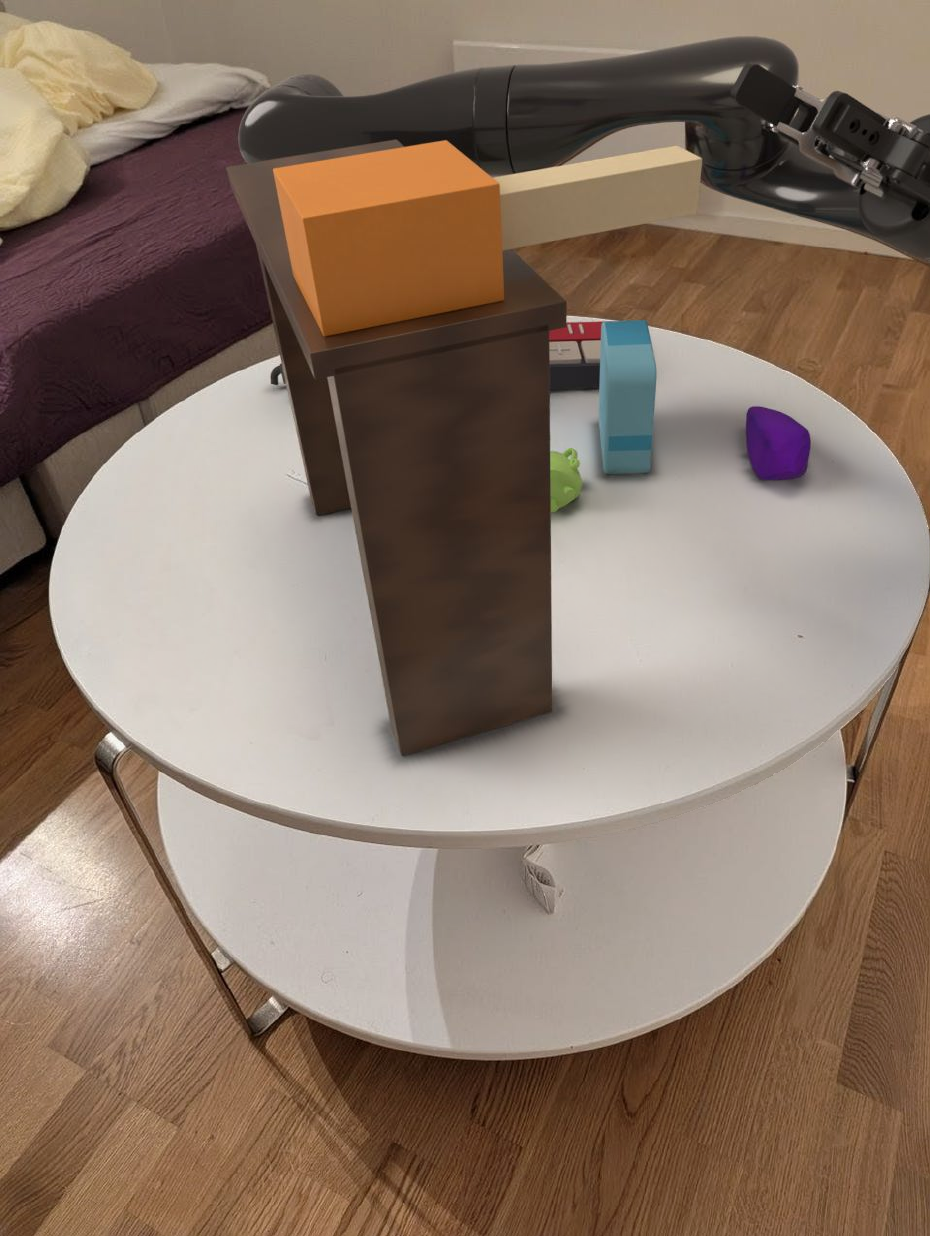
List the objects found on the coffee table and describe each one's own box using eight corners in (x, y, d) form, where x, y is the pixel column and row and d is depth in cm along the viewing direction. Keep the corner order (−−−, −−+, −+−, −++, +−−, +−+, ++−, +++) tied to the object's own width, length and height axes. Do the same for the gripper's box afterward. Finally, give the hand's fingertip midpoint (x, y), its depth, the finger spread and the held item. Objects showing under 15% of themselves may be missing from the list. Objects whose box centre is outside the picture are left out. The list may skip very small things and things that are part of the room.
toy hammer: (648, 210, 59) (655, 105, 55) (721, 257, 52) (734, 141, 48) (293, 277, 54) (272, 168, 50) (323, 337, 48) (302, 218, 44)
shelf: (432, 472, 96) (396, 139, 75) (564, 708, 70) (567, 301, 49) (301, 502, 94) (226, 166, 72) (388, 760, 68) (309, 353, 46)
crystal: (776, 385, 97) (825, 446, 85) (770, 428, 100) (817, 493, 88) (730, 389, 97) (773, 450, 85) (726, 432, 100) (767, 497, 88)
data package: (649, 479, 93) (657, 369, 85) (604, 480, 93) (608, 370, 85) (639, 419, 101) (646, 314, 94) (598, 420, 102) (601, 316, 94)
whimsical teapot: (581, 486, 92) (582, 436, 89) (585, 517, 88) (586, 466, 85) (519, 489, 93) (517, 439, 89) (520, 520, 89) (519, 470, 85)
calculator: (632, 357, 104) (500, 361, 104) (628, 392, 107) (500, 396, 107) (617, 317, 113) (495, 320, 112) (614, 350, 116) (494, 353, 115)
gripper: (991, 294, 56) (813, 195, 48) (849, 224, 67) (683, 133, 59) (1081, 171, 53) (904, 42, 45) (916, 117, 63) (749, 4, 55)
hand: (779, 94), depth 52 cm, fingers open, 8 cm apart
